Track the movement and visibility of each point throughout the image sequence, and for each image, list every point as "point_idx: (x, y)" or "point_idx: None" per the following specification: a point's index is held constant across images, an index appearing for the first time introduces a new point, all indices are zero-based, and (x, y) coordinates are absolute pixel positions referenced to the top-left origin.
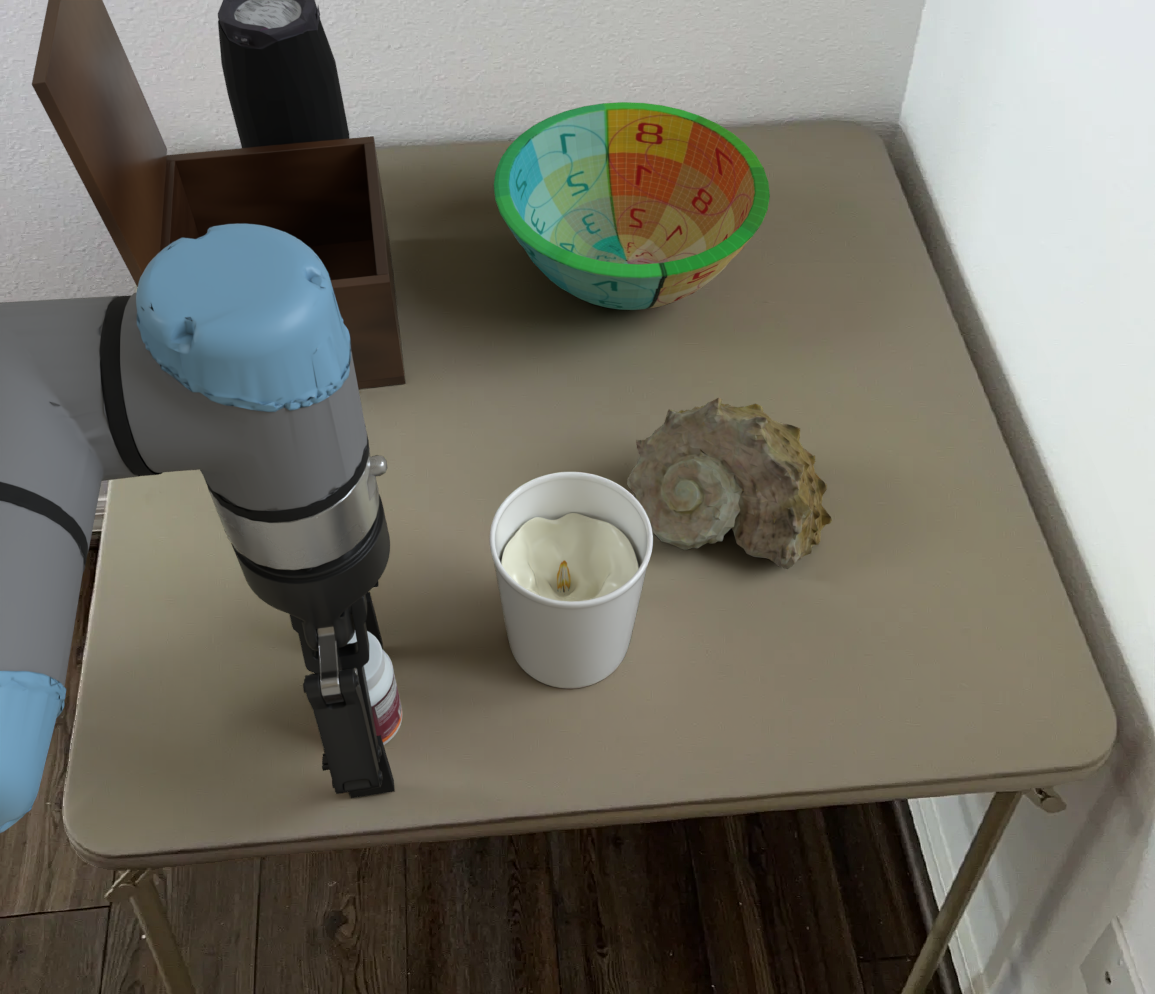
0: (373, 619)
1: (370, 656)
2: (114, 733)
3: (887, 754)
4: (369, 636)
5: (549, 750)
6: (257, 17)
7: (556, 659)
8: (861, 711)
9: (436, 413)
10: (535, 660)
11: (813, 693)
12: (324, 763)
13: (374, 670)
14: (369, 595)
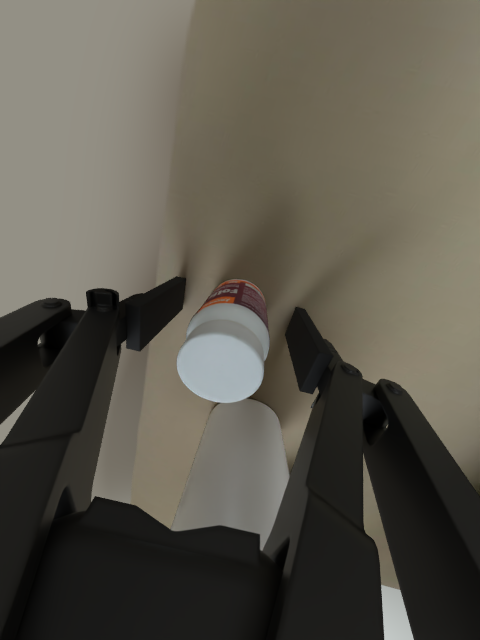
0: (293, 365)
1: (210, 390)
2: (344, 18)
3: (142, 481)
4: (237, 397)
5: (178, 389)
6: None
7: (200, 447)
8: (162, 483)
9: (461, 428)
10: (214, 428)
11: (174, 476)
12: (95, 295)
13: (189, 388)
14: (308, 392)
